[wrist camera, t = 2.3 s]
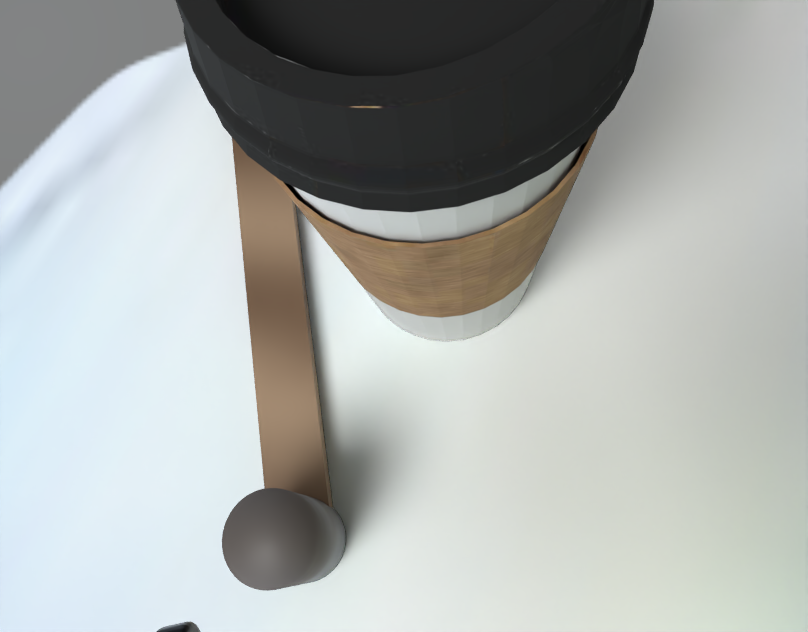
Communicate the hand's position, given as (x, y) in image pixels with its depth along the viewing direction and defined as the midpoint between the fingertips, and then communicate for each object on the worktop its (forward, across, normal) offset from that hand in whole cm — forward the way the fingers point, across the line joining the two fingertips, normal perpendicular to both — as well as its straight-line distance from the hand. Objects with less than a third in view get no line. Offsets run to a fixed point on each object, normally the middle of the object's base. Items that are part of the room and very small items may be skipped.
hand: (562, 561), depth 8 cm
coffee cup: (+17, 0, +3) cm, 17 cm away
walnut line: (+17, +6, +3) cm, 18 cm away
